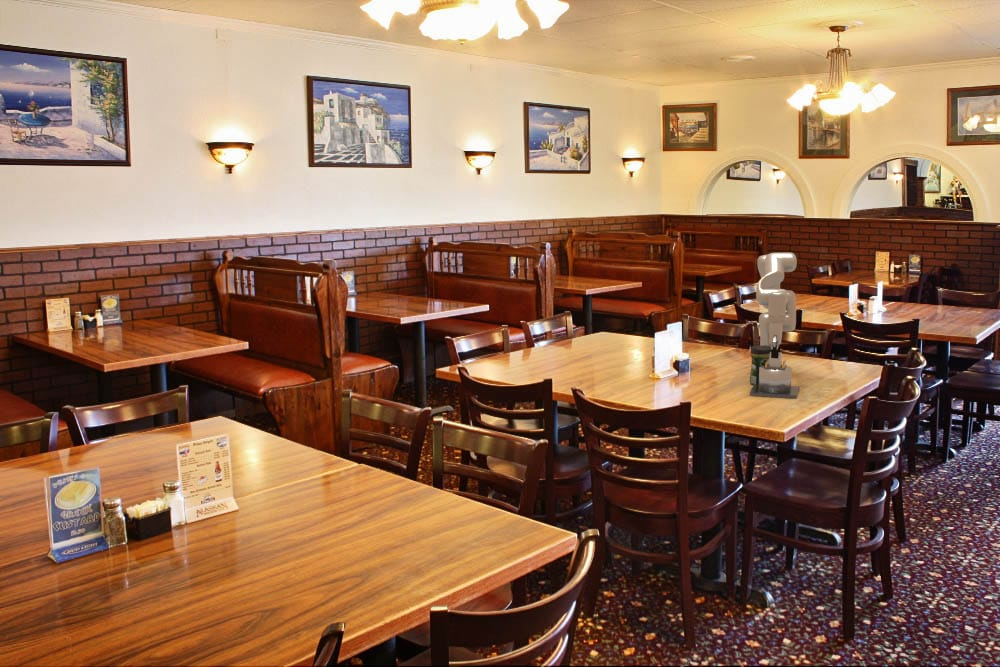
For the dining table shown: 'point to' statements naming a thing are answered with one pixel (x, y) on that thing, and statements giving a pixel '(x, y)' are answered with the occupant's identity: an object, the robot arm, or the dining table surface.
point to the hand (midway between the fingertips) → (775, 356)
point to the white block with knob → (775, 361)
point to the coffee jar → (758, 361)
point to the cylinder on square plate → (775, 382)
